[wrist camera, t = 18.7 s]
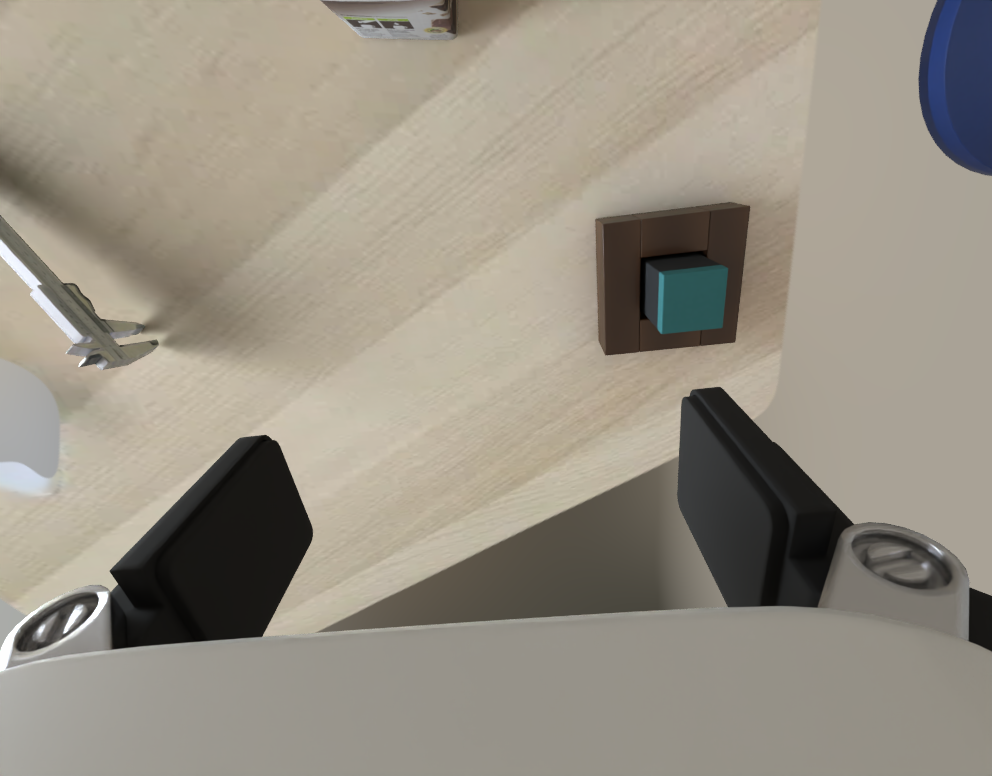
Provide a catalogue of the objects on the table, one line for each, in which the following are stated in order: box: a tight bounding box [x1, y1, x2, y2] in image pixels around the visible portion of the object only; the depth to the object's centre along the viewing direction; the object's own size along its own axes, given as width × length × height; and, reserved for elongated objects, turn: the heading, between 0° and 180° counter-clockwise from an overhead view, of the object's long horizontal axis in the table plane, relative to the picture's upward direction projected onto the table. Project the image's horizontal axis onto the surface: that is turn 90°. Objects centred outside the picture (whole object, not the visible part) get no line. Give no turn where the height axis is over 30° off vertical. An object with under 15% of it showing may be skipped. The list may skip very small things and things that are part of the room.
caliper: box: [0, 215, 159, 370], centre depth 32 cm, size 20×1×6 cm, turn 39°
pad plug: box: [640, 252, 728, 334], centre depth 32 cm, size 4×4×7 cm
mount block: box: [595, 202, 750, 355], centre depth 33 cm, size 9×9×3 cm
